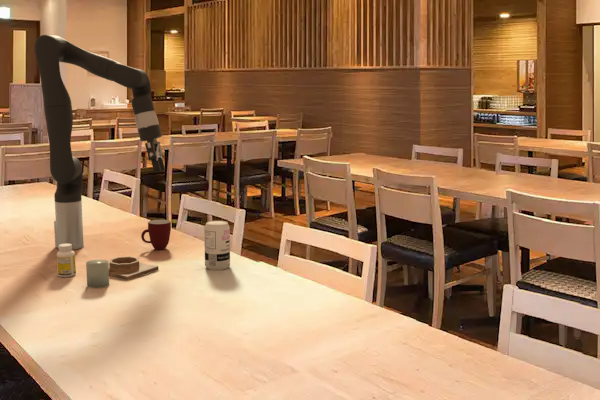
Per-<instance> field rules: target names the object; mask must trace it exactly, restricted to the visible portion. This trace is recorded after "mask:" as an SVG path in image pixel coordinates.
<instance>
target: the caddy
mask: <svg viewBox="0 0 600 400" xmlns="http://www.w3.org/2000/svg"><path fill="white" fill-rule="evenodd" d="M108 265H109V278H115V279H119V280H124V281H129V280H132V279H136V278H139V277H142V276H144V275H147V274H150V273H153V272H156V271H159V265H154V264H148V263H144V262H140V258H139V257H135V256H131V255H130V256H117V257H114V258H110V259H109V261H108Z"/></svg>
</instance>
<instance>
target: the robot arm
mask: <svg viewBox="0 0 600 400" xmlns="http://www.w3.org/2000/svg"><path fill="white" fill-rule="evenodd" d="M34 55H35V59H36V64H37V67H38V71H39V77H40V85H41V92H42V99H43V109H44V116H45V117H44V118H45V122H46V123H45V124H46V130H47V131H46V132H47V138H48V144H49V171H50V174H51V177H52V178H53V180H54V181H55V182H56V189H55V192H54V209H55V212H54V214H55V220H54V222H53V229H54V247H55V248H57V249H58V250H59V247H58V246H59V245H60V244H66V243H68V244H72V249H71V250H72V251H74V250H77V249H81V248H83V247H85V246H84V245H85V244H84V242H85V241H84V225H83V224H84V223H83V205H82V204H83V202H82V198H83V197H82V195H83V188H84V185H83V184H84V181H83V179H84V178H83V173H84V172H83V166H82V163H81V161H80V160H79V158H77V157H76V156H73V153H72V145H71V143H72V141H71V138H72V132H73V124H74V114H73V107H72V100H71V96H70V94H69V91H68V89H67V88H66V85H65V83H64V82H63V79H62V74H61V70H60V63H64V64H71V65H74V66H77V67H80V68H82V69H83V70H85V71H87V72H88V73H91V74H92V75H95V76H97V77H99V78H101V79H105V80H107V81H110V82H114V83H116V84H118V85H120V86H123V87H125V88H127V89H130V90H131V91H132V97H133V98H132V99H131V105H132V106H131V107H132V111H133V115H134V120H135V125H136V129H137V133H138V137H139V140H140V142H145V143H144V146H145V150H146V153H147V157H148V160H149V162H150V163H151V166H152V170H153V172H154V173H155V174H156V173H160V172H164V171H165V170H166V167H165V163H164V153H163V150H162V146H161V142H160V141H157V139H160V138H161V137H162V136H163V135H162V130H161V126H160V123H159V119H158V116H157V113H156V111H155V108H154V102H153V100H152V89H151V88H152V87H151V82H150V81H151V80H150V77H149V74H147V72H146V71H145V70H143V69H140V68H134V67H132V66H128V65H126V64H122V63H121V62H119V61H117V60H114V59H112V58H109V57H106V56H104V55H100V54H99V53H98V54H97V53H95V52H92V51H88V50H86V49H83V48H81V47H79V46H77V45H75V44H74V43H71V42H70V41H68V40H66V39H65V38H63V37H61V36H59V35H55V34H42V35H40V36H38V37H37V39H36V40H35V43H34Z"/></svg>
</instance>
